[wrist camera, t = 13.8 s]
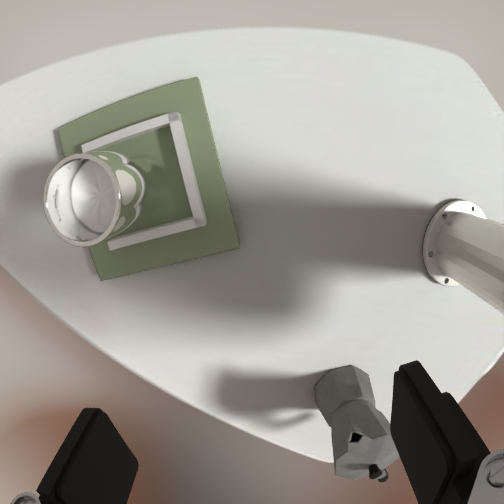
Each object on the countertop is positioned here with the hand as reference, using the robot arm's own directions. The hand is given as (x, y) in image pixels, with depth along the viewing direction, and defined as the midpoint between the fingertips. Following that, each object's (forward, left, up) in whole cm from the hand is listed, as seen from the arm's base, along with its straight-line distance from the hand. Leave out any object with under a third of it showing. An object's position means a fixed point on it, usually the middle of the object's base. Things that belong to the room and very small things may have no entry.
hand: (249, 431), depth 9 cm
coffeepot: (-9, +29, -31) cm, 43 cm away
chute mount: (+10, -8, -30) cm, 33 cm away
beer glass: (+10, -8, -28) cm, 31 cm away
